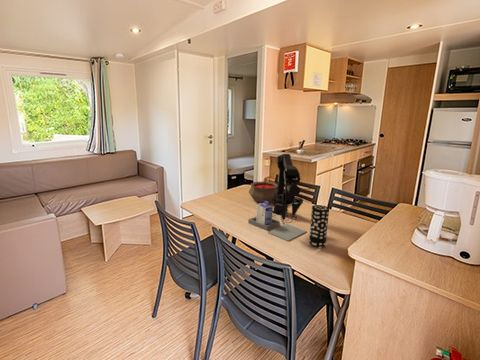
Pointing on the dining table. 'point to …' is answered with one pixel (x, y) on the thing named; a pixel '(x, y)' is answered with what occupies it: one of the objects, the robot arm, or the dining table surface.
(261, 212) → the ink cartridge box
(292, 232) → the mat
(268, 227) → the grey rectangular frame
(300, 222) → the dining table surface
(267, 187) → the dark brown bowl
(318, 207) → the spotted tube
